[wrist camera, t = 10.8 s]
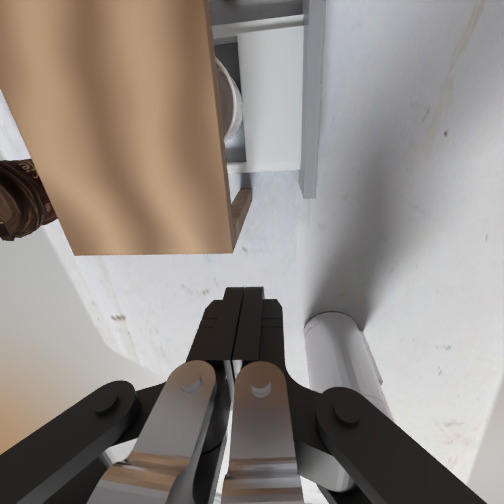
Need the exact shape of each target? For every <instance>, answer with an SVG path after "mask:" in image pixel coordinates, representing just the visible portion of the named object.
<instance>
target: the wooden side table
mask: <svg viewBox="0 0 504 504" xmlns="http://www.w3.org/2000/svg"><path fill="white" fill-rule="evenodd" d="M0 88H1V91H2V93H3V95H4V97H5V100H6V102H7V104H8V106H9V109H10V111H11V113H12V116H13V118H14V120H15V122H16V125H17V127H18V129H19V131H20V134H21V136H22V138H23V140H24V143H25V145H26V147H27V149H28V152H29V154H30V156H31V159H32V161H33V163H34V165H35V168H36V170H37V172H38V174H39V177H40V179H41V181H42V183H43V186H44V188H45V190H46V192H47V195H48V197H49V199H50V202H51V204H52V206H53V208H54V211H55V213H56V215H57V217H58V220H59V222H60V224H61V226H62V229H63V231H64V233H65V235H66V238H67V240H68V242H69V245H70V247H71V249H72V251H73V254H74V256H81V255H152V254H223V253H233V251H234V248H235V245H236V242H237V240H238V237H239V234H240V232H241V229H242V226H243V223H244V221H245V218H246V215H247V212H248V210H249V207H250V204H251V201H252V191H251V189H240V191H239V192H238V194H237V196H236V197H235V199H234V201H233V202H232V204H231V199H230V190H229V180H228V171H227V162H226V153H225V143H224V134H223V125H222V115H221V106H220V97H219V87H218V78H217V69H216V59H215V50H214V41H213V31H212V22H211V13H210V3H209V0H0Z"/></svg>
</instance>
